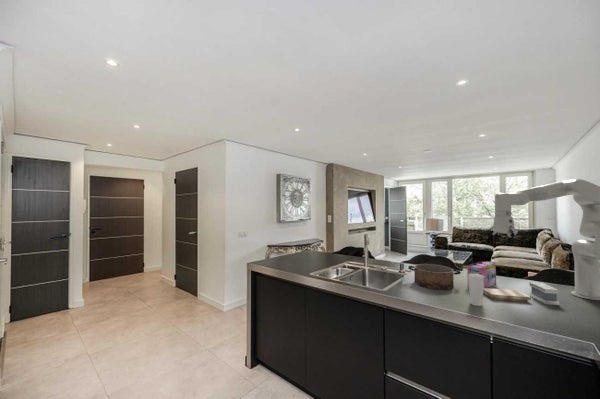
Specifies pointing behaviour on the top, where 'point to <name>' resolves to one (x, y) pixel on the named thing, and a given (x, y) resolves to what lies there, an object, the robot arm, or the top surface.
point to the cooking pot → (434, 276)
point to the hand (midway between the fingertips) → (503, 243)
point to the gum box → (484, 272)
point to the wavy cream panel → (506, 295)
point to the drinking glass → (476, 289)
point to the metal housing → (544, 293)
